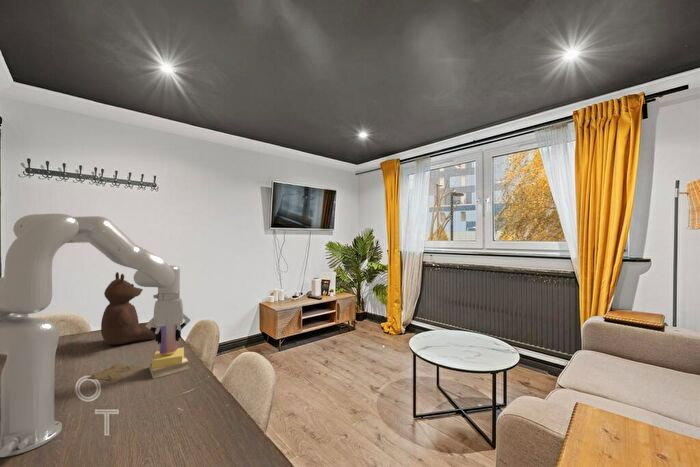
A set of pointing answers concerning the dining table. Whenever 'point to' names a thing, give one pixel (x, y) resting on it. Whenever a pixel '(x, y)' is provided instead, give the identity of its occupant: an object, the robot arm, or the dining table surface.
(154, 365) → the tower top
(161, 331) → the beverage can
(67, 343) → the dining table surface
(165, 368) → the tower base
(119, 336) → the stuffed bear
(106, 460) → the dining table surface
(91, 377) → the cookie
